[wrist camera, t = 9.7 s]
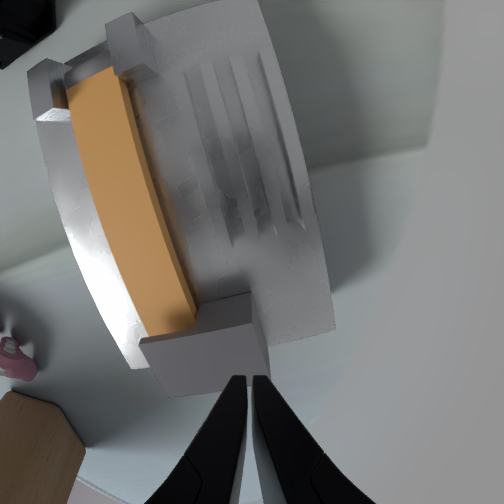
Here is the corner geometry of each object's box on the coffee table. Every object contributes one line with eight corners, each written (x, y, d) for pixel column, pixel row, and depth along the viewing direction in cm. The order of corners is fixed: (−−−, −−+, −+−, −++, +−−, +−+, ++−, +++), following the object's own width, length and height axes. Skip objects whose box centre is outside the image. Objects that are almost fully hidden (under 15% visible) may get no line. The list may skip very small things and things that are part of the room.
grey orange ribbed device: (62, 92, 16) (4, 81, 10) (253, 20, 15) (256, -31, 9) (146, 337, 22) (120, 394, 16) (322, 299, 21) (347, 355, 15)
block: (37, 433, 29) (-8, 529, 10) (6, 386, 26) (-59, 489, 7) (90, 449, 29) (51, 564, 10) (60, 402, 26) (-4, 535, 7)
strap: (73, 75, 12) (60, 70, 11) (120, 51, 12) (110, 44, 10) (174, 366, 18) (170, 381, 17) (218, 359, 18) (216, 374, 17)
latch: (153, 314, 17) (137, 344, 14) (251, 292, 17) (252, 322, 14) (177, 364, 18) (168, 397, 15) (267, 347, 18) (271, 382, 15)
